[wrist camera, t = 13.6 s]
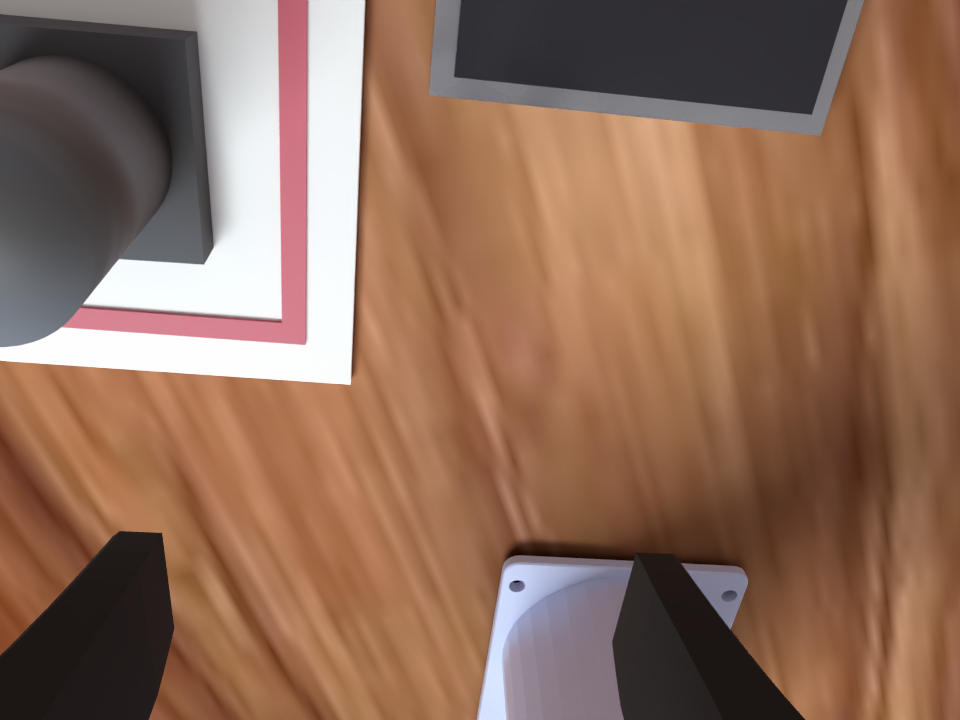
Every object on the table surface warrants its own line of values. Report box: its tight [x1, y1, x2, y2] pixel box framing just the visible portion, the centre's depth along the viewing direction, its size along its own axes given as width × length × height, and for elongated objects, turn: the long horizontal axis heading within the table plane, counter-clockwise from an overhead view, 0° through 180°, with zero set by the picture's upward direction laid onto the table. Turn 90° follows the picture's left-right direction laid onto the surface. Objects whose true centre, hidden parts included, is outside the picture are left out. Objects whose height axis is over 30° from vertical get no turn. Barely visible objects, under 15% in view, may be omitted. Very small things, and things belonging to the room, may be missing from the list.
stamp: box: [0, 14, 214, 347], centre depth 16 cm, size 5×5×6 cm
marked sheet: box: [0, 0, 366, 385], centre depth 19 cm, size 12×12×1 cm
